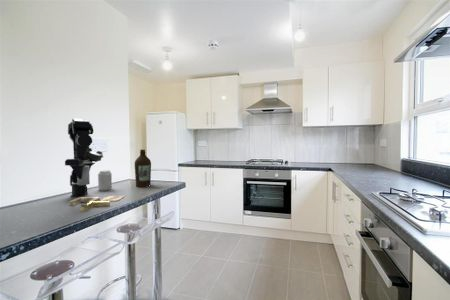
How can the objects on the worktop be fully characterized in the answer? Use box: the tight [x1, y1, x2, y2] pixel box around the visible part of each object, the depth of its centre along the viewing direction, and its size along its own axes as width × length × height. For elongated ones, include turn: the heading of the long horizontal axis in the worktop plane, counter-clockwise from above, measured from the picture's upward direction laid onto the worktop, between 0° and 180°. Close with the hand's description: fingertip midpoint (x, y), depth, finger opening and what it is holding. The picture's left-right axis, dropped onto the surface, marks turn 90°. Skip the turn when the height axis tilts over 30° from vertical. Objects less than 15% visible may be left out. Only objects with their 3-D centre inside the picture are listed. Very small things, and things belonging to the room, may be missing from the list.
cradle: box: [69, 196, 101, 206], centre depth 111 cm, size 11×8×2 cm
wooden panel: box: [100, 195, 125, 202], centre depth 119 cm, size 9×9×1 cm
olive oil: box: [134, 149, 152, 188], centre depth 151 cm, size 11×11×25 cm
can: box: [97, 169, 113, 192], centre depth 141 cm, size 8×8×12 cm
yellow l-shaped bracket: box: [79, 201, 111, 212], centre depth 103 cm, size 9×9×3 cm
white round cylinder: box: [77, 165, 90, 186], centre depth 109 cm, size 5×5×9 cm
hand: (83, 178), depth 109 cm, fingers closed on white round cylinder, 5 cm apart
